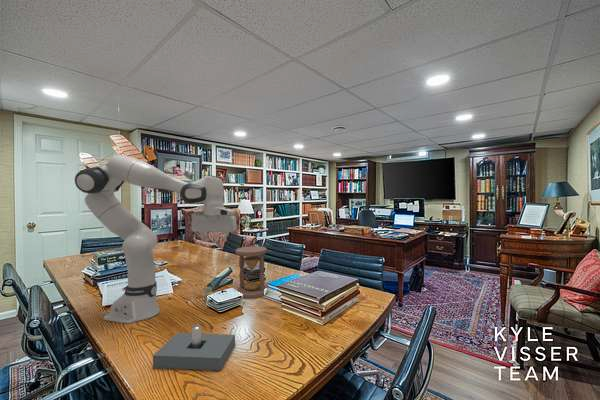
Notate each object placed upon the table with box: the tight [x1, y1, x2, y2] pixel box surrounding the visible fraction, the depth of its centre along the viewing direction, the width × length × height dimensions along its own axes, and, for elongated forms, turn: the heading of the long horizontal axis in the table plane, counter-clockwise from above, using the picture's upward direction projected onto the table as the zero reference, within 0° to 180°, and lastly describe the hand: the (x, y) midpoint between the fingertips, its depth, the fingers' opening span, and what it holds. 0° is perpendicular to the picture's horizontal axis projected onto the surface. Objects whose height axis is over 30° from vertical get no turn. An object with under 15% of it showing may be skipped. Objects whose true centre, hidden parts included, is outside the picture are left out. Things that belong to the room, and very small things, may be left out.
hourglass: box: [235, 245, 268, 300], centre depth 149 cm, size 18×18×25 cm
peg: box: [191, 324, 202, 349], centre depth 89 cm, size 3×3×10 cm
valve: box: [203, 286, 227, 302], centre depth 137 cm, size 7×7×12 cm
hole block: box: [152, 332, 236, 372], centre depth 89 cm, size 22×14×4 cm, turn 85°
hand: (214, 241), depth 120 cm, fingers open, 8 cm apart
